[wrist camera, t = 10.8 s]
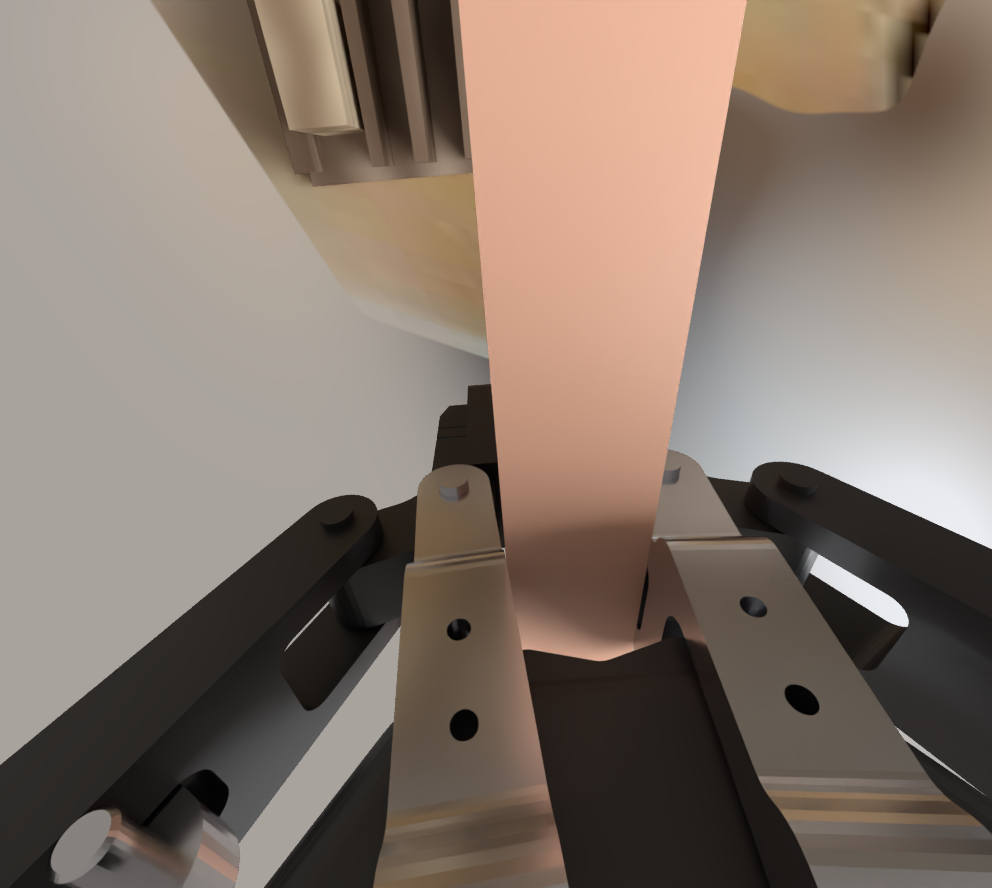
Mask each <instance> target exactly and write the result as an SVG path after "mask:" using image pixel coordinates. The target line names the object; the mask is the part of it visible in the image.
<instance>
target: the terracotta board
mask: <svg viewBox="0 0 992 888" xmlns="http://www.w3.org/2000/svg"><path fill="white" fill-rule="evenodd" d="M458 2H459V14H460V26H461V38H462V49H463V61H464V73H465V84H466V96H467V108H468V119H469V131H470V143H471V154H472V166H473V178H474V189H475V201H476V213H477V224H478V236H479V248H480V259H481V271H482V283H483V294H484V306H485V318H486V329H487V341H488V353H489V364H490V375H491V388H492V400H493V411H494V423H495V435H496V446H497V458H498V470H499V481H500V493H501V505H502V516H503V528H504V540H505V551H506V563H507V568H508V574H509V579H510V585H511V590H512V596H513V601H514V607H515V612H516V618H517V623H518V628H519V634H520V639H521V645H522V650H525V649H531V650H536V651H542V652H548V653H554V654H560V655H565V656H571V657H577V658H583V659H589V660H594V661H606V660H609V659H612V658H615V657H618V656H621V655H623V654H626V653H629V652H632V649H633V640H634V634H635V629H636V625H637V621H638V615H639V609H640V604H641V598H642V592H643V587H644V581H645V575H646V570H647V560H648V554H649V548H650V542H651V539H652V536H653V530H654V524H655V519H656V513H657V507H658V502H659V496H660V490H661V485H662V479H663V473H664V467H665V462H666V456H667V450H668V445H669V439H670V433H671V428H672V422H673V416H674V411H675V405H676V399H677V394H678V388H679V382H680V377H681V371H682V365H683V359H684V353H685V347H686V343H687V337H688V331H689V326H690V319H691V314H692V308H693V302H694V296H695V292H696V286H697V280H698V274H699V269H700V263H701V257H702V252H703V246H704V240H705V235H706V229H707V223H708V218H709V212H710V206H711V201H712V195H713V189H714V184H715V177H716V172H717V167H718V161H719V155H720V150H721V144H722V138H723V133H724V127H725V121H726V116H727V110H728V104H729V99H730V92H731V87H732V81H733V76H734V70H735V64H736V59H737V53H738V47H739V42H740V36H741V30H742V25H743V19H744V13H745V8H746V2H747V0H458Z"/></svg>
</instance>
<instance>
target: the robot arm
mask: <svg viewBox="0 0 992 888" xmlns="http://www.w3.org/2000/svg"><path fill="white" fill-rule="evenodd" d="M467 403H468V404H467V405H455V406H449V407H448V408H447V409H446V410H445V412H444V413H443V414H442V415H441V416H440V420H439V427H438V434H437V441H436V447H435V455H434V461H433V468H432V472H431V473H429V474H428V475H427V476H425V477H424V478H423V480H422V481H421V482H420V484H419V487H418V494H417V496H415V497H413V498H412V499H410V500H408V501H406V502H403V503H401V504H397V505H394V506H391V507H388V508H384V509H381V510H378V511H377V508H376V506H375V504H374V503H373V501H371V500H370V499H369V498H366V497H364V496H359V495H345V496H339V497H335V498H332V499H329V500H326V501H324V502H322V503H320V504H318V505H317V506H315V507H314V508H313V509H311V510H310V511H309V512H307V513H306V514H305V515H304V516H302V517H301V518H300V519H299V520H298V521H296V522H295V523H294V524H293V525H292V526H290V527H289V528H288V529H287V530H285V531H284V532H283V533H282V534H281V535H279V536H278V537H277V538H276V539H275V540H274V541H272V542H271V543H270V544H269V545H267V546H266V547H265V548H264V549H262V550H261V551H260V552H259V553H258V554H256V555H255V556H254V557H253V558H251V559H250V560H249V561H248V562H247V563H245V564H244V565H243V566H242V567H241V568H239V569H238V570H237V571H236V572H235V573H233V574H232V575H231V576H230V577H228V578H227V579H226V580H225V581H224V582H222V583H221V584H220V585H219V586H217V587H216V588H215V589H214V590H213V591H212V592H210V593H209V594H208V595H206V596H205V597H204V598H203V599H202V600H200V601H199V602H198V603H197V604H196V605H194V606H193V607H192V608H191V609H190V610H188V611H187V612H186V613H185V614H183V615H182V616H181V617H180V618H178V619H177V620H176V621H175V622H174V623H172V624H171V625H170V626H169V627H168V628H167V629H165V630H164V631H163V632H162V633H160V634H159V635H158V636H157V637H155V638H154V639H153V640H152V641H151V642H149V643H148V644H147V645H146V646H144V647H143V648H142V649H141V650H140V651H138V652H137V653H136V654H135V655H133V656H132V657H131V658H130V659H129V660H127V661H126V662H125V663H124V664H123V665H122V666H120V667H119V668H118V669H116V670H115V671H114V672H113V673H112V674H110V675H109V676H108V677H107V678H106V679H104V680H103V681H102V682H101V683H100V684H98V685H97V686H96V687H95V688H93V689H92V690H91V691H90V692H89V693H87V694H86V695H85V696H84V697H83V698H81V699H80V700H79V701H78V702H76V703H75V704H74V705H73V706H72V707H70V708H69V709H68V710H67V711H65V712H64V713H63V714H62V715H61V716H60V717H58V718H57V719H56V720H55V721H53V722H52V723H51V724H50V725H48V726H47V727H46V728H45V729H44V730H42V731H41V732H40V733H39V734H38V735H36V736H35V737H34V738H33V739H31V740H30V741H29V742H28V743H27V744H25V745H24V746H23V747H22V748H21V749H19V750H18V751H17V752H16V753H14V754H13V755H12V756H11V757H9V758H8V759H7V760H6V761H5V762H3V763H2V764H1V765H0V888H234V887H235V883H236V880H237V875H238V871H239V862H240V850H239V843H240V841H241V840H242V839H243V837H244V836H245V835H246V833H247V832H248V831H249V829H250V828H251V826H252V825H253V824H254V822H255V821H256V820H257V818H258V817H259V816H260V814H261V813H262V812H263V810H264V809H265V808H266V806H267V805H268V804H269V802H270V801H271V799H272V798H273V797H274V796H275V794H276V793H277V791H278V790H279V789H280V787H281V786H282V785H283V783H284V782H285V781H286V779H287V778H288V777H289V775H290V774H291V772H292V771H293V770H294V769H295V767H296V766H297V765H298V763H299V762H300V760H301V759H302V758H303V756H304V755H305V754H306V752H307V751H308V750H309V748H310V747H311V746H312V744H313V743H314V742H315V740H316V739H317V737H318V736H319V735H320V733H321V732H322V731H323V729H324V728H325V727H326V725H327V724H328V723H329V721H330V720H331V719H332V717H333V716H334V715H335V713H336V712H337V711H338V709H339V708H340V707H341V705H342V704H343V703H344V701H345V700H346V698H347V697H348V696H349V694H350V693H351V692H352V690H353V689H354V688H355V686H356V685H357V684H358V682H359V681H360V680H361V678H362V677H363V676H364V674H365V673H366V671H367V670H368V669H369V667H370V666H371V665H372V663H373V662H374V661H375V659H376V658H377V657H378V655H379V654H380V653H381V651H382V650H383V649H384V647H385V646H386V645H387V643H388V642H389V641H390V639H391V638H392V637H393V635H394V634H395V632H396V631H397V630H398V628H399V627H400V625H401V629H400V644H399V657H398V671H397V685H396V698H395V712H394V722H393V723H392V724H391V725H390V726H389V727H388V728H387V730H386V731H385V732H384V733H383V735H382V736H381V737H380V738H379V740H378V741H377V742H376V744H375V745H374V746H373V747H372V749H371V750H370V751H369V753H368V754H367V755H366V756H365V758H364V759H363V760H362V762H361V763H360V765H358V767H357V768H356V769H355V771H354V772H353V773H352V775H351V776H350V777H349V779H348V780H347V781H346V782H345V784H344V785H343V786H342V787H341V789H340V790H339V791H338V793H337V794H336V795H335V797H334V798H333V799H332V800H331V802H330V803H329V804H328V806H327V807H326V808H325V809H324V811H323V812H322V814H321V815H320V816H319V817H318V818H317V820H316V821H315V822H314V824H313V825H312V826H311V827H310V829H309V830H308V831H307V833H306V834H305V835H304V837H303V838H302V839H301V841H300V842H299V843H298V844H297V846H296V847H295V848H294V849H293V851H292V852H291V853H290V855H289V856H288V857H287V859H286V860H285V861H284V862H283V864H282V865H281V867H280V868H279V869H278V870H277V871H276V873H275V874H274V875H273V877H272V878H271V879H270V880H269V882H268V883H267V884H266V886H265V887H264V888H992V549H990V548H988V547H985V546H983V545H981V544H979V543H977V542H975V541H972V540H970V539H968V538H966V537H964V536H961V535H959V534H957V533H955V532H953V531H950V530H948V529H946V528H944V527H942V526H939V525H937V524H935V523H933V522H930V521H928V520H926V519H924V518H922V517H919V516H917V515H915V514H913V513H911V512H908V511H906V510H904V509H902V508H900V507H897V506H895V505H893V504H891V503H889V502H886V501H884V500H882V499H880V498H878V497H875V496H873V495H871V494H869V493H867V492H864V491H862V490H860V489H858V488H856V487H853V486H851V485H849V484H847V483H844V482H842V481H840V480H838V479H836V478H834V477H831V476H829V475H827V474H825V473H823V472H820V471H818V470H815V469H813V468H810V467H808V466H804V465H800V464H796V463H790V462H770V463H765V464H762V465H760V466H758V467H757V468H756V469H755V470H754V471H753V474H752V477H751V480H750V482H742V481H741V482H740V481H733V480H725V479H718V478H712V477H707V476H706V475H705V473H704V471H703V470H702V468H701V466H700V465H699V464H698V463H697V462H696V461H695V460H693V459H692V458H691V457H689V456H687V455H684V454H682V453H680V452H677V451H673V450H667V456H666V462H665V467H664V473H663V479H662V485H661V490H660V496H659V502H658V507H657V513H656V519H655V524H654V530H653V536H652V539H651V542H650V548H649V554H648V560H647V570H646V575H645V581H644V587H643V592H642V598H641V604H640V609H639V615H638V621H637V625H636V629H635V634H634V640H633V646H634V651H632V652H629V653H626V654H623V655H621V656H618V657H615V658H612V659H609V660H606V661H594V660H589V659H583V658H577V657H571V656H565V655H560V654H554V653H548V652H542V651H536V650H531V649H525V650H522V645H521V639H520V634H519V628H518V623H517V618H516V612H515V607H514V601H513V596H512V590H511V585H510V579H509V574H508V568H507V563H506V558H505V553H504V550H502V549H501V548H505V540H504V528H503V516H502V505H501V493H500V481H499V470H498V458H497V446H496V435H495V423H494V411H493V400H492V388H491V384H486V385H473V386H468V401H467ZM818 554H819V555H821V556H823V557H825V558H826V559H828V560H830V561H831V562H833V563H835V564H836V565H838V566H840V567H842V568H843V569H845V570H847V571H848V572H850V573H852V574H854V575H855V576H857V577H859V578H860V579H862V580H864V581H866V582H867V583H869V584H870V585H872V586H874V587H876V588H877V589H879V590H881V591H882V592H884V593H886V594H888V595H889V596H891V597H892V598H893V599H895V600H896V601H897V602H898V603H899V604H900V605H901V606H902V607H903V609H904V610H905V612H906V613H907V616H908V619H909V625H908V627H901V626H897V625H894V624H891V623H889V622H887V621H886V620H884V619H882V618H881V617H879V616H878V615H876V614H874V613H873V612H871V611H870V610H868V609H866V608H865V607H863V606H862V605H860V604H858V603H857V602H855V601H854V600H852V599H851V598H848V597H847V596H846V595H844V594H842V593H841V592H839V591H838V590H836V589H834V588H833V587H831V586H830V585H828V584H827V583H825V582H823V581H822V580H820V579H819V578H817V577H815V576H814V575H812V574H811V573H810V571H811V568H812V566H813V564H814V562H815V560H816V558H817V556H818ZM328 601H329V604H328V605H327V607H326V608H325V609H324V610H323V611H322V612H321V613H320V614H319V615H318V616H317V617H316V618H315V619H314V620H313V622H312V623H311V624H310V625H309V626H308V627H307V628H306V629H305V630H304V631H303V632H302V633H301V634H300V636H299V637H298V638H297V639H296V640H295V641H294V642H293V643H292V644H291V645H290V646H289V647H288V649H287V650H286V651H285V649H286V648H287V646H288V644H289V643H290V642H291V641H292V639H293V638H294V637H295V636H296V635H297V634H298V633H299V632H300V631H301V630H302V629H303V628H304V626H305V625H306V624H307V623H308V622H309V621H310V620H311V619H312V618H313V617H314V616H315V615H316V614H317V613H318V612H319V611H320V609H321V608H322V607H323V606H324V605H325V604H326V603H327V602H328ZM284 651H285V652H284ZM895 726H896V727H897V728H899V729H900V730H901V731H902V732H904V733H905V734H906V735H908V736H909V737H910V738H912V739H913V740H914V741H915V742H917V743H918V744H919V745H921V746H922V747H923V748H925V749H926V750H927V751H928V752H930V753H931V754H932V755H934V756H935V757H936V758H938V759H939V760H940V761H941V762H943V763H944V764H945V765H947V766H948V767H949V768H951V769H952V770H953V771H955V772H956V773H957V774H959V775H960V776H961V777H962V778H964V779H965V780H966V781H967V782H969V783H970V784H971V785H973V786H974V787H975V788H977V789H978V790H979V791H980V792H979V791H978V790H976V789H975V788H973V787H972V786H971V785H969V784H968V783H966V782H965V781H963V780H962V779H960V778H959V777H958V776H956V775H954V774H953V773H952V772H950V771H949V770H947V769H946V768H944V767H943V766H941V765H940V764H938V763H937V762H936V761H934V760H933V759H931V758H930V757H928V756H927V755H925V754H924V753H922V752H921V751H919V750H918V749H917V748H915V747H914V746H912V745H911V744H909V743H908V742H906V741H905V740H904V739H903V737H902V736H901V735H900V733H899V731H898V730H897V728H896V727H895ZM981 792H982V793H983V794H982V793H981ZM985 795H986V796H985Z"/></svg>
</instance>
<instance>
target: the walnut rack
mask: <svg viewBox="0 0 992 888" xmlns="http://www.w3.org/2000/svg"><path fill="white" fill-rule="evenodd" d="M335 1H336V2H337V3H338V4H339V5H340V7H341V10H342V15H343V20H344V25H345V31H346V36H347V41H348V46H349V51H350V56H351V62H352V67H353V72H354V77H355V82H356V87H357V92H358V98H359V103H360V108H361V113H362V118H363V123H364V129H365V133H354V134H343V135H331V136H320V135H315V134H309V133H304V132H298V131H293V130H289V127H288V123H287V119H286V116H285V112H284V108H283V105H282V101H281V97H280V94H279V90H278V86H277V83H276V79H275V75H274V71H273V68H272V64H271V60H270V57H269V53H268V49H267V46H266V42H265V38H264V35H263V31H262V27H261V24H260V20H259V16H258V13H257V9H256V5H255V1H254V0H247V3H248V7H249V10H250V14H251V18H252V21H253V25H254V28H255V32H256V35H257V39H258V43H259V46H260V50H261V53H262V57H263V61H264V64H265V68H266V71H267V75H268V79H269V82H270V86H271V89H272V93H273V97H274V100H275V104H276V107H277V111H278V115H279V118H280V122H281V125H282V129H283V133H284V136H285V140H286V143H287V147H288V151H289V154H290V158H291V161H292V165H293V168H294V172H295V174H302V173H310V177H311V181H312V185H313V186H325V185H336V184H348V183H360V182H371V181H383V180H394V179H406V178H417V177H429V176H440V175H452V174H463V173H473V166H472V154H471V143H470V131H469V119H468V108H467V96H466V84H465V73H464V61H463V49H462V38H461V26H460V14H459V2H458V0H335Z"/></svg>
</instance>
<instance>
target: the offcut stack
mask: <svg viewBox="0 0 992 888" xmlns="http://www.w3.org/2000/svg"><path fill="white" fill-rule="evenodd" d="M254 1H255V5H256V9H257V13H258V16H259V20H260V24H261V27H262V31H263V35H264V38H265V42H266V46H267V49H268V53H269V57H270V60H271V64H272V68H273V71H274V75H275V79H276V83H277V86H278V90H279V94H280V97H281V101H282V105H283V108H284V112H285V116H286V119H287V123H288V127H289V130H293V131H298V132H304V133H309V134H315V135H320V136H331V135H343V134H354V133H365V129H364V123H363V118H362V113H361V108H360V103H359V98H358V92H357V87H356V82H355V77H354V72H353V67H352V62H351V56H350V51H349V46H348V41H347V36H346V31H345V25H344V20H343V15H342V10H341V7H340V5H339V4H338V3H337V2H336V1H335V0H254Z"/></svg>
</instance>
